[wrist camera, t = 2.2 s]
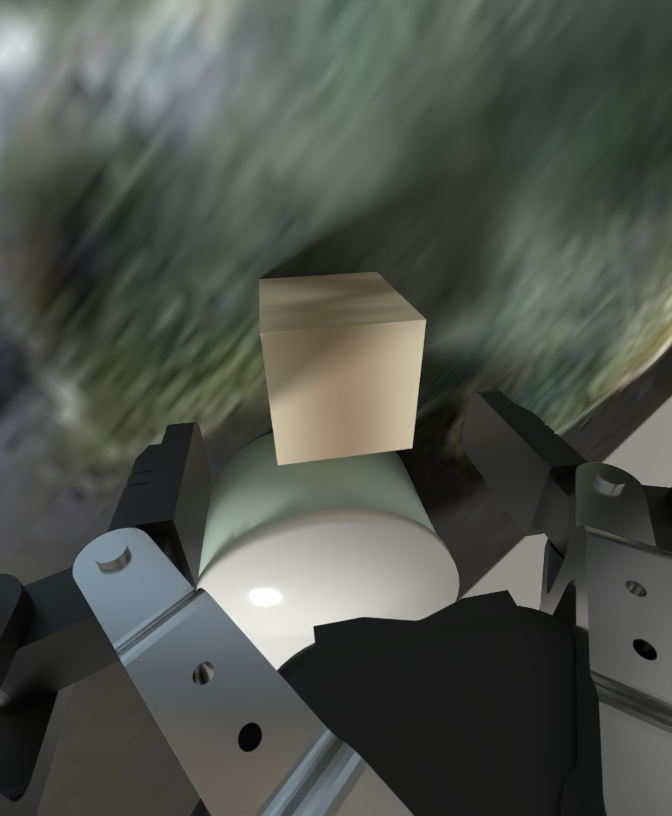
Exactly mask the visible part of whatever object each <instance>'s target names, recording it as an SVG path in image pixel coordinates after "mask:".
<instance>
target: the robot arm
mask: <svg viewBox="0 0 672 816" xmlns="http://www.w3.org/2000/svg"><path fill="white" fill-rule="evenodd" d="M462 443H463V448H464V450H465V453H466V454H467V456H468V457H469V459H470V460H471V461H472V463H473V464H474V465H475V467H476V468H477V470H478V471H479V472H480V474H481V475H482V476H483V478H484V479H485V481H486V482H487V483H488V485H489V486H490V487H491V489H492V490H493V491H494V493H495V494H496V496H497V497H498V498H499V500H500V501H501V502H502V504H503V505H504V506H505V508H506V509H507V511H508V512H509V513H510V515H511V516H512V517H513V519H514V520H515V522H516V523H517V524H518V526H519V527H520V528H521V530H522V531H523V532H524V534H525V535H526V536H531V535H537V534H542V533H545V535H546V536H547V537H548V540H547V543H546V545H545V552H544V566H543V580H542V592H541V604H540V610H536V609H532V608H527V607H522V606H517V605H516V603H515V602H514V600H513V598H512V597H511V595H510V593H509V592H508V590H505V591H500V592H494V593H489V594H484V595H479V596H473V597H468V598H462V599H460V600H458V601H457V602H455V603H453V604H451V605H449V606H447V607H445V608H443V609H441V610H439V611H437V612H435V613H433V614H431V615H429V616H427V617H426V618H424V619H421V620H415V621H413V620H399V619H386V618H372V617H360V618H355V619H350V620H344V621H339V622H333V623H328V624H323V625H317V626H313V629H314V641H315V643H313V644H311V645H309V646H307V647H305V648H303V649H302V650H300V651H299V652H297V653H296V654H294V655H293V656H292V657H290V658H289V659H288V660H287V661H286V662H285V663H284V664H282V665H281V666H280V668H279V669H278V670H276V669H275V668H274V667H273V666H272V665H271V663H270V662H269V661H268V660H267V659H266V658H265V657H264V655H263V654H262V653H261V652H260V651H259V650H258V649H257V648H256V646H255V645H254V644H253V643H252V642H251V641H250V640H249V638H248V637H247V636H246V635H245V634H244V633H243V632H242V630H241V629H240V628H239V627H238V626H237V625H236V624H235V623H234V621H233V620H232V619H231V618H230V617H229V616H228V615H227V613H226V612H225V611H224V610H223V609H222V608H221V607H220V605H219V604H218V603H217V602H216V601H215V600H214V599H213V597H212V596H211V595H210V594H209V593H208V592H207V591H206V590H204V589H203V588H199V589H197V584H198V576H199V569H200V561H201V553H202V546H203V538H204V531H205V523H206V515H207V508H208V500H209V493H210V469H209V464H208V460H207V456H206V452H205V448H204V443H203V439H202V435H201V431H200V427H199V425H198V423H197V422H191V423H181V424H172V425H168V426H167V428H166V431H165V434H164V437H163V441H162V444H157V445H149V446H148V447H147V448H146V449H145V450H144V451H143V452H142V453H141V454H140V455H139V456H138V457H137V458H136V460H135V463H134V465H133V468H132V470H131V476H129V478H128V480H127V483H126V488H124V491H123V493H122V496H121V498H120V501H119V503H118V506H117V508H116V511H115V513H114V516H113V518H112V521H111V524H110V526H109V529H108V531H107V533H106V534H104V535H102V536H100V537H98V538H96V539H95V540H93V541H92V542H91V543H90V544H88V545H87V546H86V547H85V548H84V549H83V550H82V551H81V553H80V554H79V555H78V557H77V559H76V560H75V563H74V565H73V566H72V567H70V568H68V569H66V570H64V571H61V572H59V573H56V574H54V575H51V576H48V577H46V578H43V579H41V580H38V581H36V582H33V583H31V584H28V585H25V586H23V585H22V584H21V582H20V581H19V580H18V579H17V578H16V577H14V576H12V575H8V574H0V816H36V815H37V811H38V808H39V804H40V801H41V797H42V794H43V790H44V787H45V783H46V780H47V776H48V773H49V769H50V766H51V762H52V759H53V755H54V752H55V748H56V745H57V741H58V738H59V734H60V731H61V728H62V724H63V721H64V717H65V714H66V710H67V707H68V703H69V700H70V696H71V693H72V689H73V686H74V683H75V682H77V681H79V680H81V679H83V678H85V677H87V676H89V675H91V674H93V673H95V672H97V671H99V670H101V669H103V668H105V667H107V666H109V665H111V664H113V663H115V662H117V661H119V660H121V661H122V663H123V665H124V667H125V668H126V670H127V672H128V673H129V675H130V677H131V679H132V680H133V682H134V684H135V686H136V687H137V689H138V691H139V692H140V694H141V696H142V698H143V699H144V701H145V703H146V704H147V706H148V708H149V710H150V711H151V713H152V715H153V717H154V718H155V720H156V722H157V723H158V725H159V727H160V729H161V730H162V732H163V734H164V736H165V737H166V739H167V741H168V742H169V744H170V746H171V748H172V749H173V751H174V753H175V754H176V756H177V758H178V760H179V761H180V763H181V765H182V767H183V768H184V770H185V772H186V773H187V775H188V777H189V779H190V780H191V782H192V784H193V785H194V787H195V789H196V791H197V792H198V794H199V796H200V800H199V802H198V803H197V805H196V807H195V809H194V810H193V812H192V814H191V816H672V487H671V488H667V487H657V486H646V485H641V483H640V482H639V481H638V480H637V479H636V478H635V477H633V476H632V475H630V474H629V473H627V472H626V471H624V470H622V469H619V468H617V467H615V466H612V465H608V464H604V463H597V462H590V463H589V462H588V461H587V460H585V459H584V458H583V457H582V456H581V455H580V454H579V453H578V452H577V451H575V450H574V449H573V448H572V447H571V446H570V445H569V444H568V443H566V442H565V441H564V440H563V439H562V438H561V437H560V436H559V435H557V434H554V431H553V430H552V429H551V428H550V427H549V426H547V425H545V423H544V422H543V421H542V420H541V419H540V418H538V417H537V416H536V415H535V414H534V413H533V412H531V411H529V410H527V409H525V408H523V407H521V406H519V405H517V404H514V403H513V402H512V401H511V400H509V399H508V398H507V397H506V396H505V395H504V394H503V393H502V392H501V391H499V390H495V391H485V392H476V393H473V394H472V395H471V396H470V398H469V402H468V407H467V413H466V418H465V423H464V428H463V433H462Z"/></svg>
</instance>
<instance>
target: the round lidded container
mask: <svg viewBox="0 0 672 816" xmlns="http://www.w3.org/2000/svg"><path fill="white" fill-rule="evenodd" d="M199 588H203V589H204V590H206V591H207V592H208V593H209V594H210V595H211V596H212V597H213V599H214V600H215V601H216V602H217V603H218V604H219V605H220V607H221V608H222V609H223V610H224V611H225V612H226V613H227V615H228V616H229V617H230V618H231V619H232V620H233V621H234V623H235V624H236V625H237V626H238V627H239V628H240V629H241V630H242V632H243V633H244V634H245V635H246V636H247V637H248V638H249V640H250V641H251V642H252V643H253V644H254V645H255V646H256V648H257V649H258V650H259V651H260V652H261V653H262V654H263V655H264V657H265V658H266V659H267V660H268V661H269V662H270V663H271V665H272V666H273V667H274V668H275V669H276V670H278V669H279V668H280V666H281V665H282V664H284V663H285V662H286V661H287V660H288V659H289V658H290V657H292V656H293V655H294V654H296V653H297V652H299V651H300V650H302V649H303V648H305V647H307V646H309V645H311V644H313V643H315V641H314V629H313V626H317V625H323V624H328V623H333V622H339V621H344V620H350V619H355V618H360V617H372V618H386V619H399V620H413V621H415V620H421V619H424V618H426V617H427V616H429V615H431V614H433V613H435V612H437V611H439V610H441V609H443V608H445V607H447V606H449V605H451V604H453V603H455V601H456V598H457V595H458V590H459V575H458V572H457V568H456V565H455V563H454V561H453V559H452V557H451V555H450V553H449V551H448V549H447V547H446V546H445V544H444V542H443V541H442V540H441V539H440V538H439V536H438V535H437V534H436V533H435V531H434V529H433V526H432V524H431V522H430V520H429V518H428V516H427V513H426V511H425V509H424V507H423V505H422V503H421V500H420V498H419V496H418V494H417V492H416V490H415V487H414V485H413V483H412V481H411V479H410V477H409V475H408V472H407V470H406V468H405V466H404V464H403V462H402V460H401V459H400V457H399V455H398V454H397V453H396V452H395V451H387V452H379V453H371V454H363V455H356V456H348V457H340V458H332V459H324V460H316V461H308V462H300V463H292V464H285V465H278V463H277V456H276V448H275V441H274V433H273V432H271V433H268V434H266V435H264V436H262V437H260V438H258V439H256V440H254V441H252V442H251V443H249V444H248V445H246V446H245V447H243V448H242V449H240V450H239V451H238V452H237V453H236V454H235V455H234V456H233V457H231V458H230V459H229V460H228V462H227V463H226V464H225V465H224V466H223V468H222V469H221V471H220V472H219V474H218V475H217V477H216V479H215V481H214V484H213V486H212V489H211V493H210V498H209V505H208V512H207V519H206V526H205V533H204V539H203V546H202V553H201V561H200V569H199V576H198V584H197V589H199Z"/></svg>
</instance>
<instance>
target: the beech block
mask: <svg viewBox="0 0 672 816" xmlns="http://www.w3.org/2000/svg"><path fill="white" fill-rule="evenodd" d="M259 299H260V335H261V343H262V350H263V358H264V366H265V373H266V381H267V388H268V396H269V403H270V411H271V418H272V426H273V433H274V441H275V448H276V456H277V463H278V465H285V464H292V463H300V462H308V461H316V460H324V459H332V458H340V457H348V456H356V455H363V454H371V453H379V452H387V451H395V450H403V449H411V448H412V447H413V438H414V428H415V419H416V410H417V401H418V391H419V382H420V373H421V364H422V354H423V345H424V336H425V327H426V319H425V318H424V317H423V316H422V315H421V314H420V313H419V312H418V311H417V310H416V309H415V308H414V307H413V306H412V305H411V304H410V303H409V302H408V301H407V300H406V299H404V298H403V297H402V296H401V295H400V294H399V293H398V292H397V291H396V290H395V289H394V288H393V287H392V286H391V285H390V284H389V283H388V282H387V281H386V280H385V279H384V278H383V277H382V276H381V275H380V274H379V273H378V272H364V273H349V274H333V275H318V276H302V277H287V278H271V279H259Z"/></svg>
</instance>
